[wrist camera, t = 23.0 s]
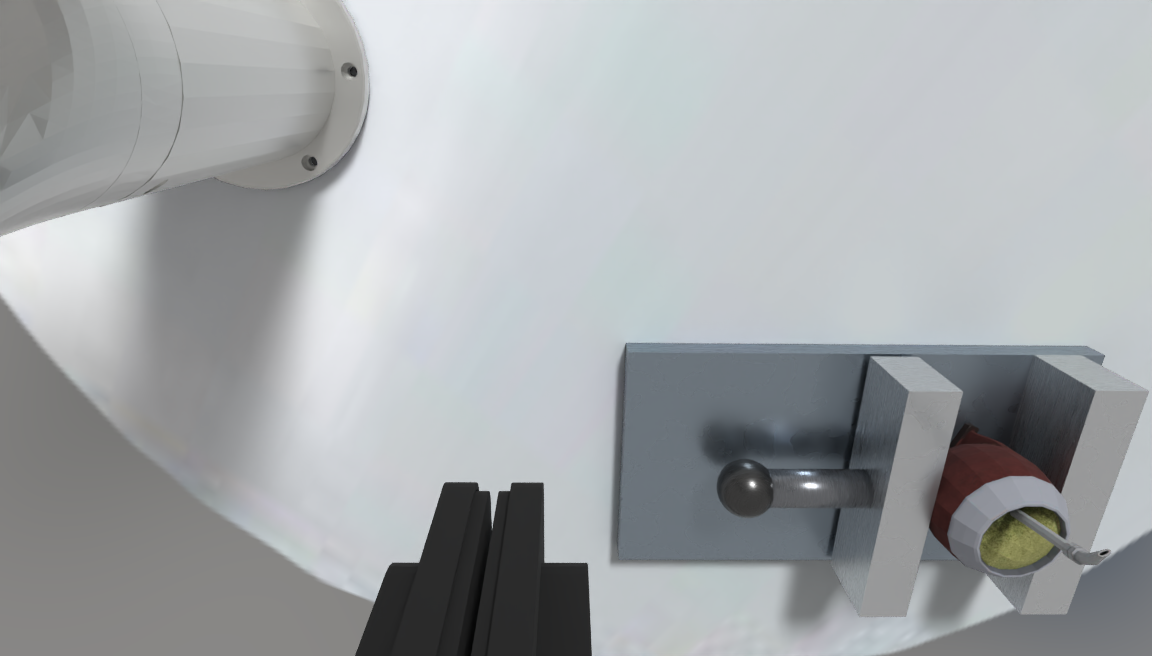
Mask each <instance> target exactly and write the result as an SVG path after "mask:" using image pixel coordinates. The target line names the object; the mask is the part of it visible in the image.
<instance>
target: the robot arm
mask: <svg viewBox="0 0 1152 656" xmlns="http://www.w3.org/2000/svg"><path fill="white" fill-rule="evenodd" d="M352 67H355V68H356V69H357V75H356V76H355V77H353V76H352V75H351V73H350V69H351V68H352ZM369 91H370V86H369V67H368V62H367V58H366V53H365V49H364V44H363V41H362V39H361V36H360V34H359V31H358V29H357V27H356V24H355V22H354V19H353V17H352V16H351V14H350V13H349V11H348V9H347V8H346V6H345V5H344V3H343V1H342V0H0V237H1V236H3V235H6V234H9V233H12V232H15V231H17V230H20V229H23V228H26V227H29V226H32V225H35V224H38V223H41V222H45V221H48V220H52V219H55V218H59V217H62V216H66V215H69V214H73V213H77V212H80V211H84V210H88V209H92V208H96V207H102V206H106V205H110V204H113V203H117V202H121V201H125V200H129V199H132V198H136V197H140V196H144V195H148V194H151V193H155V192H159V191H163V190H167V189H170V188H174V187H178V186H182V185H186V184H189V183H193V182H197V181H201V180H205V179H208V178H212V177H214V178H216V179H218V180H220V181H222V182H226V183H229V184H233V185H236V186H239V187H243V188H252V189H261V190H270V189H281V188H288V187H291V186H295V185H298V184H302V183H305V182H307V181H309V180H312V179H314V178H316V177H318V176H320V175H322V174H323V173H325V172H326V171H327V170H329V169H330V168H332V167H333V166H335V165H336V164H337V163H338V162H339V161H340V160H341V159H342V157H343V156H344V155H345V154H346V153H347V152H348V151H349V150H350V148H351V146H352V145H353V143H354V141H355V140H356V138H357V136H358V134H359V133H360V130H361V127H362V124H363V121H364V118H365V115H366V112H367V106H368V98H369ZM312 157H314V158H316V160H317V166H316V165H314V164H312V162H311V158H312ZM355 656H592V651H591V627H590V604H589V580H588V564H587V563H544V484H543V483H512V484H511V490H510V491H499V493H498V499H497V505H496V511H495V516H494V522H493V528H492V522H491V499H490V492H489V491H479V487H478V483H472V482H446V483H444V485H443V488H442V491H441V494H440V498H439V501H438V504H437V507H436V511H435V514H434V517H433V520H432V524H431V527H430V530H429V533H428V536H427V540H426V543H425V546H424V549H423V553H422V556H421V559H420V562H419V563H392V564H391V565H390V566H389V568H388V570H387V572H386V574H385V577H384V579H383V582H382V585H381V588H380V590H379V593H378V596H377V598H376V601H375V604H374V606H373V609H372V612H371V614H370V617H369V620H368V622H367V625H366V628H365V631H364V633H363V636H362V639H361V641H360V644H359V647H358V649H357V652H356V655H355Z"/></svg>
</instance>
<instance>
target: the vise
mask: <svg viewBox="0 0 1152 656" xmlns="http://www.w3.org/2000/svg"><path fill="white" fill-rule="evenodd" d="M870 356H879V357H919V358H921V359H922V360H923V361H924V362H926V363H927V364H928V365H930V366H931V367H932V368H933V369H935V370H936V371H937V372H939V373H940V374H941V375H942V376H944V377H945V378H946V379H948V380H949V381H950V382H951V383H953V384H954V385H955V386H957V387H958V388H959V389H960V390H962V391H963V394H962V398H961V402H960V406H959V410H958V414H957V418H956V422H955V426H954V430H953V434H952V438H951V441H950V443H951V442H952V440H953V439H954V437H955V436H956V435H957V433H958V432H959V431H960V429H961V428H962V427H963V426H964V424H965V423H969V424H972V425H974V426H975V427H977V428H979V431H978V434H980V435H983V436H986V437H989V438H991V439H994V440H996V441H999V442H1001V443H1003V444H1004V445H1006V446H1007V447H1009V448H1010V449H1012V450H1013V451H1015V452H1016V453H1018V454H1019V455H1021V456H1023V457H1024V458H1026V459H1027V460H1029V461H1030V462H1032V463H1033V464H1035V465H1036V466H1037V467H1038V468H1039V469H1040V470H1041V471H1042V472H1043V473H1044V474H1045V475H1046V476H1047V478H1048V479H1049V480H1050V481H1051V482H1052V484H1053V485H1054V486H1055V487H1056V488H1057V490H1058V492H1059V493H1060V494H1061V495H1062V496H1063V497H1064V499H1065V500H1066V504H1067V508H1068V514H1069V520H1070V535H1069V538H1068V542H1074V543H1076V544H1077V545H1079V546H1081V547H1083V548H1084V549H1086V550H1087V551H1088V552H1090V549H1091V547H1092V544H1093V541H1094V539H1095V536H1096V533H1097V531H1098V528H1099V525H1100V522H1101V520H1102V517H1103V514H1104V512H1105V509H1106V506H1107V504H1108V501H1109V498H1110V495H1111V493H1112V490H1113V487H1114V485H1115V482H1116V479H1117V477H1118V474H1119V471H1120V468H1121V466H1122V463H1123V460H1124V458H1125V455H1126V452H1127V450H1128V447H1129V444H1130V441H1131V439H1132V436H1133V433H1134V431H1135V428H1136V425H1137V423H1138V420H1139V417H1140V414H1141V412H1142V409H1143V406H1144V404H1145V401H1146V398H1147V396H1148V393H1149V391H1148V390H1146V389H1144V388H1142V387H1141V386H1139V385H1137V384H1135V383H1133V382H1131V381H1129V380H1127V379H1125V378H1124V377H1122V376H1120V375H1118V374H1116V373H1114V372H1112V371H1110V370H1108V369H1107V368H1105V367H1103V366H1102V363H1103V360H1104V357H1105V355H1103V354H1101V353H1099V352H1097V351H1095V350H1093V349H1091V348H1089V347H1087V346H976V345H823V344H671V343H626V357H625V380H624V403H623V426H622V449H621V473H620V496H619V519H618V542H617V547H618V556H619V560H831V558H832V553H833V547H834V542H835V537H836V532H837V527H838V521H839V516H840V511H841V508H769V509H768V510H767V511H766V512H765V513H764V514H762V515H760V516H758V517H754V518H742V517H738V516H736V515H734V514H732V513H730V512H729V511H728V510H727V509H726V508H725V507H724V506H723V505H722V503H721V502H720V500H719V498H718V494H717V488H716V486H717V479H718V476H719V474H720V472H721V471H722V469H723V468H724V467H725V466H726V465H727V464H729V463H730V462H732V461H735V460H739V459H750V460H754V461H757V462H759V463H760V464H762V465H763V466H765V467H766V468H767V469H849V464H850V459H851V454H852V449H853V443H854V438H855V433H856V428H857V423H858V417H859V412H860V407H861V402H862V397H863V392H864V386H865V381H866V376H867V371H868V366H869V360H870ZM920 560H958V559H957V558H955V557H954V556H953V555H952V554H951V553H950V552H949V551H948V550H947V549H946V548H945V547H944V546H943V545H942V544H941V543H940V542H939V541H938V540H937V539H936V538H935V537H934V536H933V534H932V532H931V531H930V529H929V528H928V532H927V536H926V540H925V544H924V547H923V551H922V555H921V559H920ZM1084 566H1085V565H1079V564H1077V563H1075V562H1074V561H1072V560H1071V559H1069V558H1068V557H1066V556H1065V555H1064V554H1063V552H1061V553H1060V555H1059V556H1058V557H1057V558H1056V559H1055V560H1054V562H1052V563H1051V564H1049V565H1048V566H1046V567H1044V568H1043V569H1041V570H1040V571H1038V572H1035V573H1032V574H1028V575H1025V576H1022V577H996V576H992V575H989V574H987V576H988V577H989V578H990V579H991V580H992V581H993V583H994V584H995V585H996V586H997V587H998V588H999V590H1000V591H1001V592H1002V593H1003V594H1004V596H1005V597H1006V598H1007V599H1008V600H1009V601H1010V603H1011V604H1012V605H1013V606H1014V607H1015V608H1016V610H1017V611H1018V612H1019V613H1020V614H1067V612H1068V609H1069V606H1070V603H1071V601H1072V598H1073V595H1074V593H1075V590H1076V587H1077V585H1078V582H1079V579H1080V576H1081V574H1082V571H1083V568H1084Z"/></svg>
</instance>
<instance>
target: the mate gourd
mask: <svg viewBox="0 0 1152 656" xmlns="http://www.w3.org/2000/svg"><path fill="white" fill-rule="evenodd" d="M978 431H979V428H977V427H975V426H974V425H972V424H969V423H965V424H964V426H963V427H962V428H961V429H960V431H959V432H958V433H957V435H956V436H955V437H954V439H953V440H952V442H951V443H950V445H949V449H948V453H947V457H946V461H945V465H944V469H943V473H942V477H941V481H940V485H939V489H938V492H937V496H936V500H935V504H934V508H933V512H932V516H931V520H930V524H929V529H930V531H931V532H932V534H933V536H934V537H935V538H936V539H937V540H938V541H939V542H940V543H941V544H942V545H943V546H944V547H945V548H946V549H947V550H948V551H949V552H950V553H951V554H952V555H953V556H954V557H955V558H957V559H958V560H960V561H961V562H962V563H963V564H964V565H965V566H967V567H970V568H972V569H975V570H978V571H981V572H983V573H986V574H989V575H992V576H996V577H1022V576H1025V575H1028V574H1032V573H1035V572H1038V571H1040V570H1041V569H1043V568H1044V567H1046V566H1048V565H1049V564H1051V563H1052V562H1054V560H1055V559H1056V558H1057V557H1058V556H1059V555H1060V553H1061V552H1063V554H1064V555H1065V556H1066V557H1068V558H1069V559H1071V560H1072V561H1074V562H1075V563H1077V564H1079V565H1098V564H1099V563H1100V562H1101V561H1102V560H1103V559H1105V558H1106V557H1107V556H1108V555H1109V554H1110V553H1111V550H1108V549H1105V550H1101V551H1097V552H1093V553H1090V552H1088V551H1087V550H1086V549H1084V548H1083V547H1081V546H1079V545H1077V544H1076V543H1074V542H1068V538H1069V535H1070V520H1069V514H1068V508H1067V504H1066V500H1065V499H1064V497H1063V496H1062V495H1061V494H1060V493H1059V492H1058V490H1057V488H1056V487H1055V486H1054V485H1053V484H1052V482H1051V481H1050V480H1049V479H1048V478H1047V476H1046V475H1045V474H1044V473H1043V472H1042V471H1041V470H1040V469H1039V468H1038V467H1037V466H1036V465H1035V464H1033V463H1032V462H1030V461H1029V460H1027V459H1026V458H1024V457H1023V456H1021V455H1019V454H1018V453H1016V452H1015V451H1013V450H1012V449H1010V448H1009V447H1007V446H1006V445H1004V444H1003V443H1001V442H999V441H996V440H994V439H991V438H989V437H986V436H983V435H980V434H978Z"/></svg>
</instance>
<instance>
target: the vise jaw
mask: <svg viewBox="0 0 1152 656" xmlns="http://www.w3.org/2000/svg"><path fill="white" fill-rule="evenodd" d="M962 394H963V391H962V390H960V389H959V388H958V387H957V386H955V385H954V384H953V383H951V382H950V381H949V380H948V379H946V378H945V377H944V376H942V375H941V374H940V373H939V372H937V371H936V370H935V369H933V368H932V367H931V366H930V365H928V364H927V363H926V362H924V361H923V360H922V359H921V358H919V357H879V356H870V360H869V366H868V371H867V376H866V381H865V386H864V392H863V397H862V402H861V407H860V412H859V417H858V423H857V428H856V433H855V438H854V443H853V449H852V454H851V459H850V464H849V469H767V468H766V467H765V466H763V465H762V464H760V463H759V462H757V461H754V460H750V459H739V460H735V461H732V462H730V463H729V464H727V465H726V466H725V467H724V468H723V469H722V471H721V472H720V474H719V476H718V479H717V486H716V488H717V494H718V498H719V500H720V502H721V503H722V505H723V506H724V507H725V508H726V509H727V510H728V511H729V512H730V513H732V514H734V515H736V516H738V517H742V518H754V517H758V516H760V515H762V514H764V513H765V512H766V511H767V510H768V509H769V508H841V511H840V516H839V521H838V527H837V532H836V537H835V542H834V547H833V553H832V558H831V563H830V564H831V566H832V568H833V570H834V571H835V573H836V575H837V577H838V579H839V581H840V582H841V584H842V586H843V588H844V590H845V592H846V593H847V595H848V597H849V599H850V601H851V603H852V604H853V606H854V608H855V610H856V612H857V613H858V615H859V617H906V614H907V610H908V606H909V602H910V599H911V595H912V591H913V587H914V583H915V579H916V575H917V571H918V567H919V563H920V559H921V555H922V551H923V547H924V544H925V540H926V536H927V532H928V528H929V524H930V520H931V516H932V512H933V508H934V504H935V500H936V496H937V492H938V489H939V485H940V481H941V477H942V473H943V469H944V465H945V461H946V457H947V453H948V449H949V445H950V441H951V438H952V434H953V430H954V426H955V422H956V418H957V414H958V410H959V406H960V402H961V398H962Z"/></svg>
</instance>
